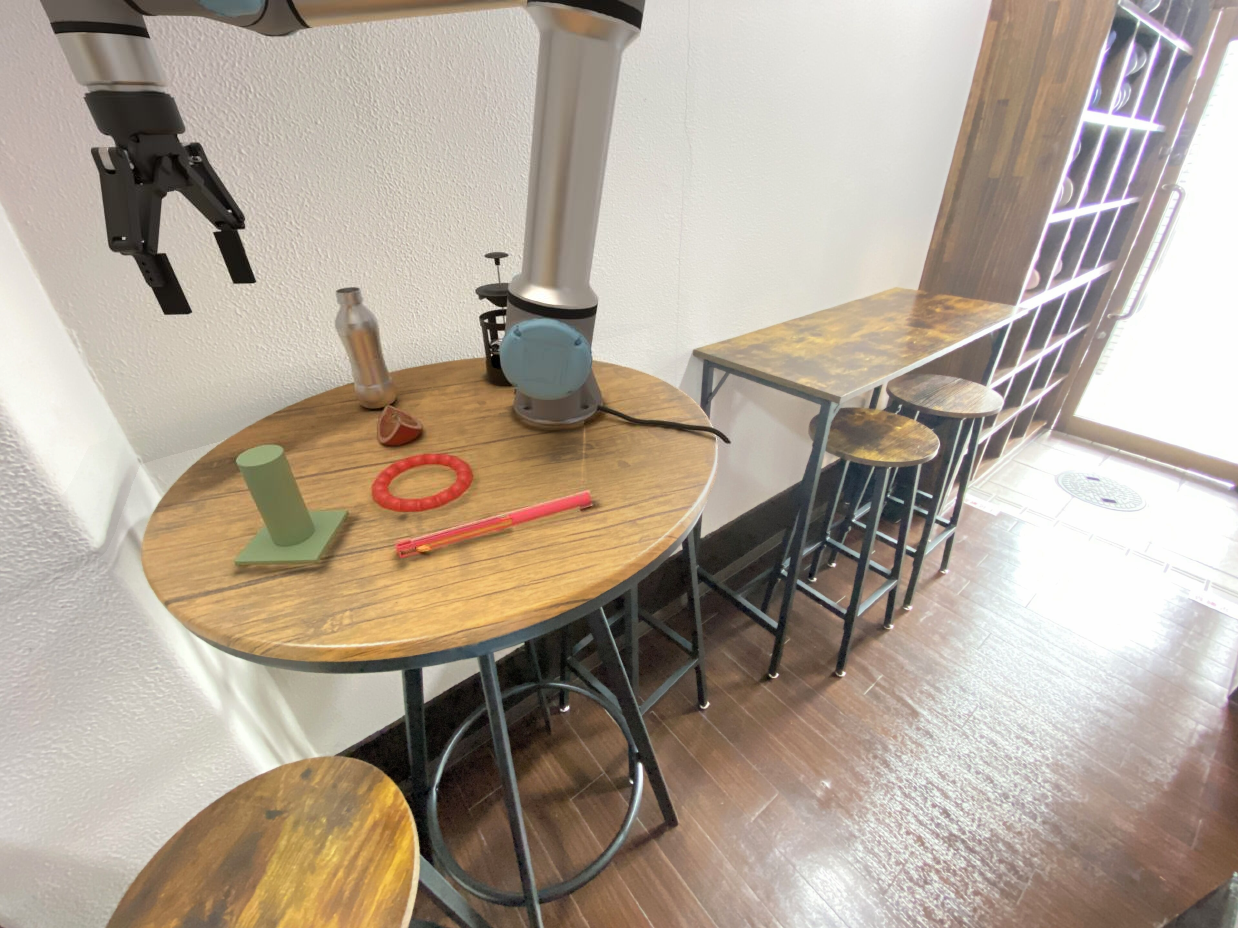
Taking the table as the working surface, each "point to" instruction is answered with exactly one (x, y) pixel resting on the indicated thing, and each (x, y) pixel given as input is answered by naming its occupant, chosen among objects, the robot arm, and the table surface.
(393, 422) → the fruit slice
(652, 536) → the table surface
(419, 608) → the table surface
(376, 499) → the ring
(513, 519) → the red ballpoint pen
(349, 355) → the plastic bottle
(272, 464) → the post
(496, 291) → the french press
